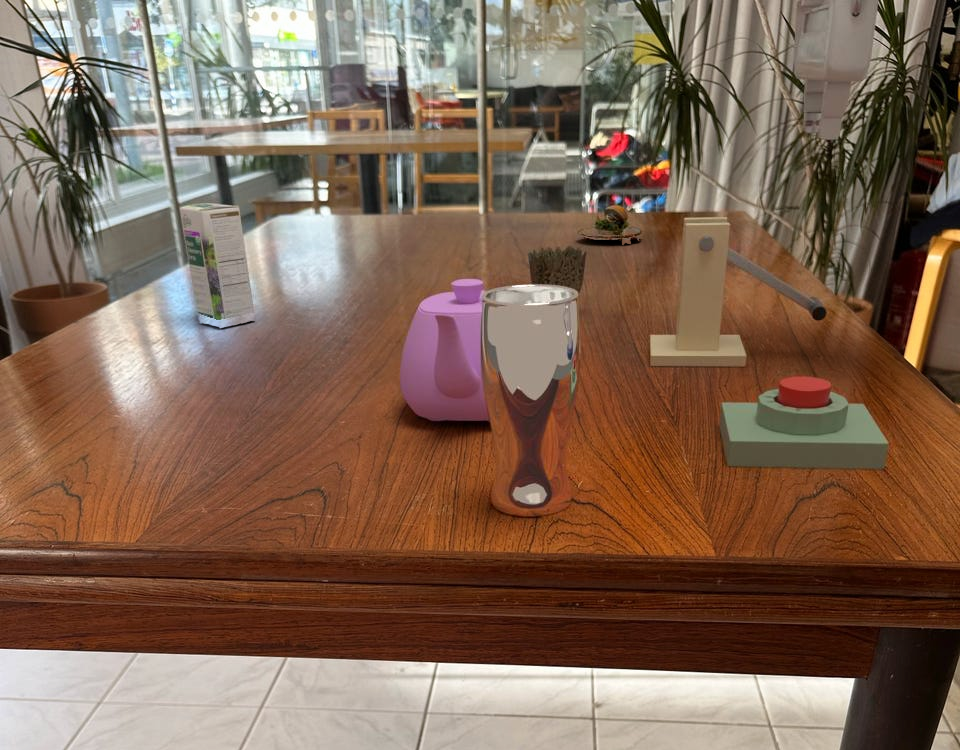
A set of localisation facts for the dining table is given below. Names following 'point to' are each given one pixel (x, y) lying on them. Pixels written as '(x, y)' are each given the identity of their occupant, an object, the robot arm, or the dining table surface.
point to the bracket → (700, 302)
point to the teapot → (446, 356)
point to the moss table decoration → (613, 223)
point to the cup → (558, 267)
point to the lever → (778, 285)
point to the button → (804, 392)
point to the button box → (801, 435)
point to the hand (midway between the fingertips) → (819, 135)
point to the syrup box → (217, 260)
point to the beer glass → (530, 392)
